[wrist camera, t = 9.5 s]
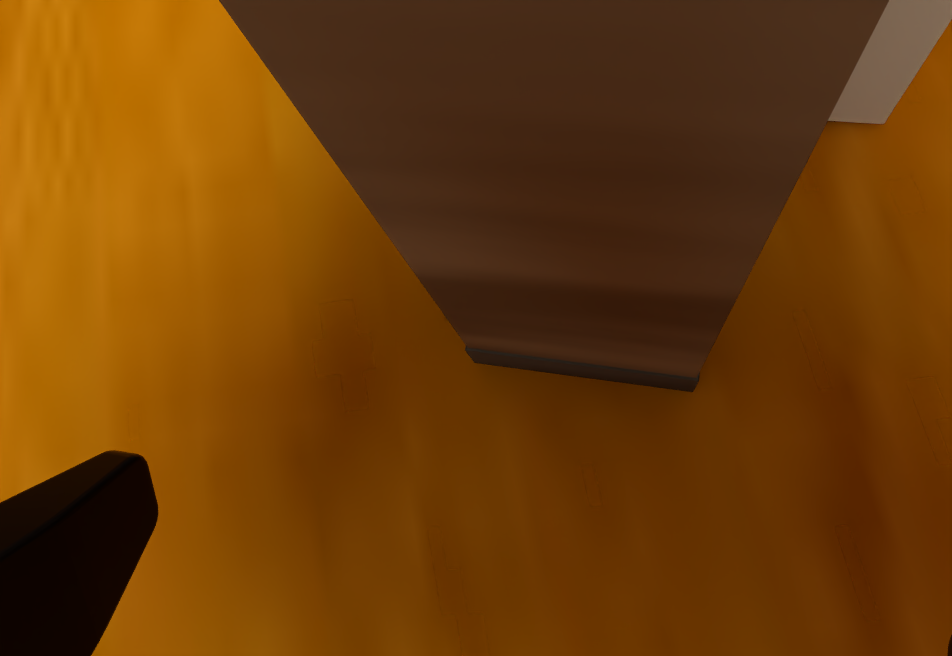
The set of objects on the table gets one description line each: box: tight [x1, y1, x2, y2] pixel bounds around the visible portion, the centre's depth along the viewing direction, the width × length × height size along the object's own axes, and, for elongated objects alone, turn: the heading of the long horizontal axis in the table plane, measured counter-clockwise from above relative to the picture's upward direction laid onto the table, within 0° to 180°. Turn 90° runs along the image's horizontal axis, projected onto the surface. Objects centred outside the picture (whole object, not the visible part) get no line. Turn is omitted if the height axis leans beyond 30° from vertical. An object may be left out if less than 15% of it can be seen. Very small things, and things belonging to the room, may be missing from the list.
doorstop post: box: [219, 0, 889, 392], centre depth 12 cm, size 4×4×13 cm
